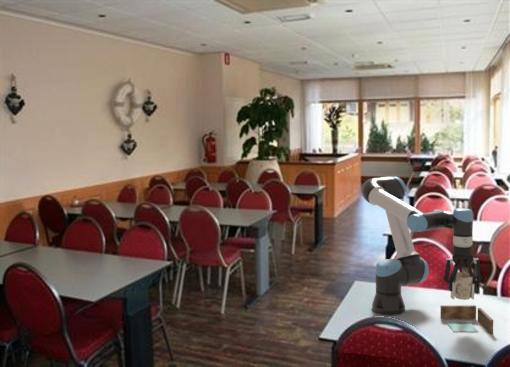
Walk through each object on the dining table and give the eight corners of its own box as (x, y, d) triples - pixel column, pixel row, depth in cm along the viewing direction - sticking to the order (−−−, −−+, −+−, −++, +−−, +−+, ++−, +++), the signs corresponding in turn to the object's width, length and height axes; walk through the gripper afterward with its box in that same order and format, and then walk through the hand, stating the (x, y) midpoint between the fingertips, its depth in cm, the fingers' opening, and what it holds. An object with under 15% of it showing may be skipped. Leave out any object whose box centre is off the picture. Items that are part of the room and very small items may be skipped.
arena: (452, 334, 202) (452, 320, 202) (440, 318, 219) (440, 305, 219) (493, 334, 201) (493, 320, 200) (477, 318, 218) (478, 305, 217)
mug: (476, 296, 209) (476, 274, 208) (464, 304, 200) (464, 281, 199) (456, 293, 215) (456, 270, 214) (444, 300, 206) (444, 277, 205)
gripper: (440, 247, 202) (440, 301, 204) (491, 247, 200) (490, 301, 203) (435, 243, 210) (435, 295, 212) (484, 243, 208) (483, 295, 210)
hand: (462, 298), depth 207 cm, fingers closed on mug, 7 cm apart
